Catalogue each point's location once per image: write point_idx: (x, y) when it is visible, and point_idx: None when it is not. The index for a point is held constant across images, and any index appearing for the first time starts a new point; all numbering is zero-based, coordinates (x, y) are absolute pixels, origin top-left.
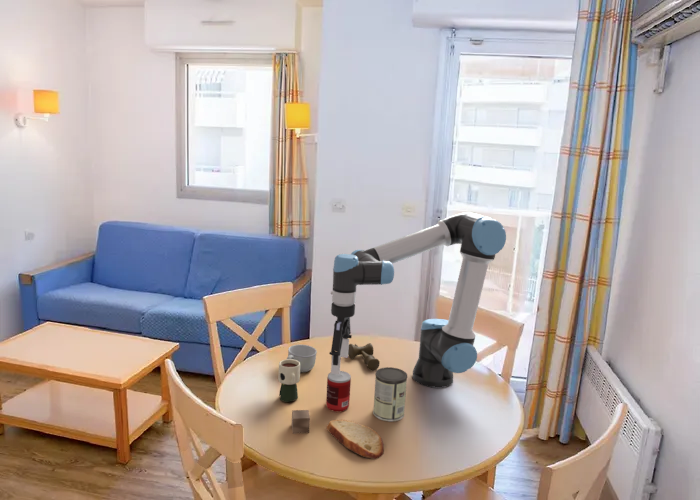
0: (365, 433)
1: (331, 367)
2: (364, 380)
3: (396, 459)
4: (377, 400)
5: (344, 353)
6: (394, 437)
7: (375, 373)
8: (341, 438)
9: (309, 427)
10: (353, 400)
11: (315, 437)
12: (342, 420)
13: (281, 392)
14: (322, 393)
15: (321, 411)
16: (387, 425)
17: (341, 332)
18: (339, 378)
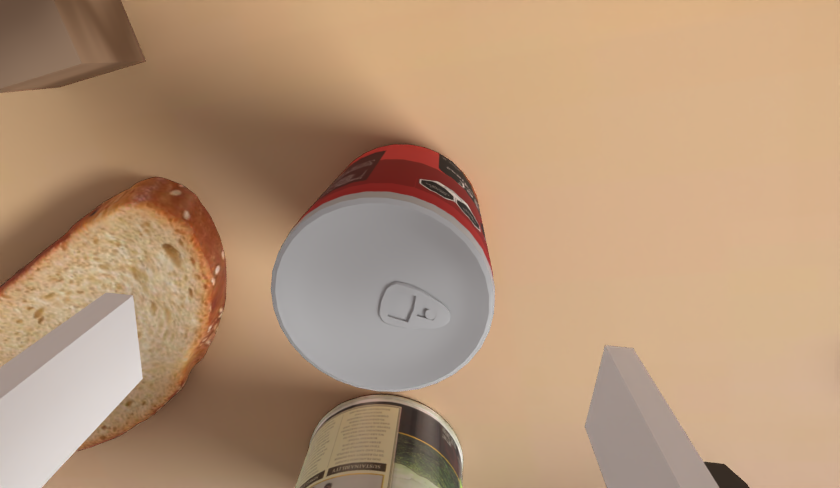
0: None
1: (55, 332)
2: (777, 341)
3: None
4: (310, 480)
5: (606, 428)
6: (183, 475)
7: None
8: (10, 278)
9: (33, 89)
10: (497, 294)
11: (32, 130)
12: (194, 266)
13: None
14: (566, 93)
15: (320, 122)
16: (274, 452)
17: None
18: (346, 303)
